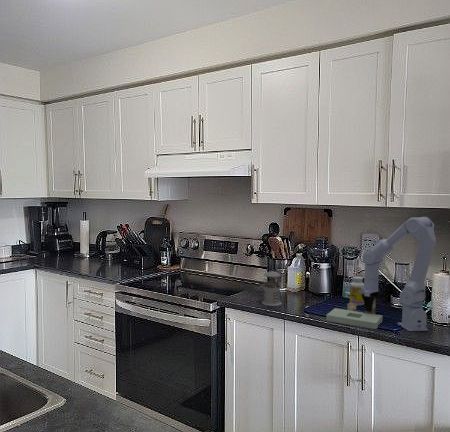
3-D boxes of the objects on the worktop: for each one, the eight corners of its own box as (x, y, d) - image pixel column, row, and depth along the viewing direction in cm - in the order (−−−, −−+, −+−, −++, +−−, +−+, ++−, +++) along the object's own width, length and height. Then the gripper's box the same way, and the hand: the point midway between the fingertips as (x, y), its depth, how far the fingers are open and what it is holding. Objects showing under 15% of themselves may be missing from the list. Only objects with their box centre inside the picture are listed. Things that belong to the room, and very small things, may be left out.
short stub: (357, 314, 188) (358, 305, 188) (348, 314, 188) (349, 305, 187) (354, 311, 192) (354, 303, 192) (345, 312, 192) (345, 303, 191)
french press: (258, 304, 204) (259, 251, 202) (267, 298, 214) (268, 248, 212) (277, 306, 199) (278, 253, 197) (286, 301, 209) (287, 250, 208)
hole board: (382, 321, 178) (382, 315, 178) (375, 329, 168) (376, 323, 168) (334, 313, 189) (335, 308, 189) (326, 320, 178) (326, 314, 178)
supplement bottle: (346, 302, 207) (347, 276, 207) (358, 301, 210) (358, 275, 209) (355, 306, 201) (356, 279, 200) (367, 305, 203) (367, 278, 203)
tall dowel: (376, 317, 184) (377, 298, 183) (367, 317, 184) (368, 299, 183) (372, 314, 188) (373, 296, 187) (363, 314, 188) (364, 296, 187)
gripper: (365, 274, 193) (365, 304, 194) (357, 280, 181) (356, 312, 181) (382, 276, 189) (381, 306, 190) (374, 282, 177) (373, 314, 178)
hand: (370, 309), depth 186 cm, fingers open, 6 cm apart
